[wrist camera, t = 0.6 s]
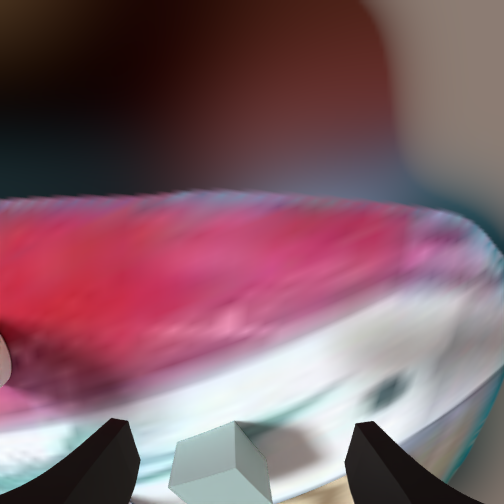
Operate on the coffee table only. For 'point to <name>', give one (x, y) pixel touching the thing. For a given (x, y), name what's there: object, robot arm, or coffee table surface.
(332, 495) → the beech block
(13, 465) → the coffee table surface
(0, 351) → the can
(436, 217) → the coffee table surface
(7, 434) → the coffee table surface
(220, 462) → the teal cube
